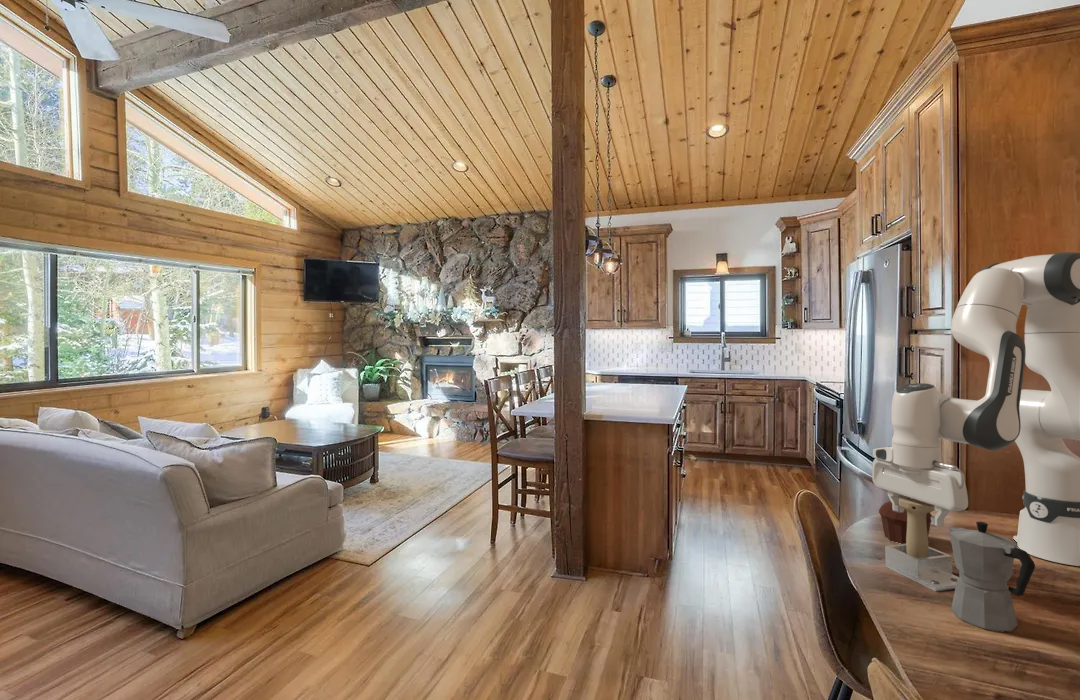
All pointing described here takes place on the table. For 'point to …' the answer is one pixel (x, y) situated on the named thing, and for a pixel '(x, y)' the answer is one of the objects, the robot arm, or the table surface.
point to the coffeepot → (987, 577)
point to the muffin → (897, 523)
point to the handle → (916, 526)
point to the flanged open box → (922, 567)
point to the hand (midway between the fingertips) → (917, 518)
